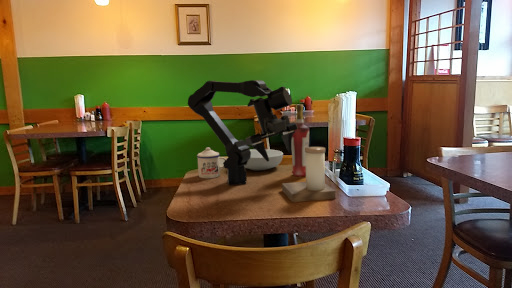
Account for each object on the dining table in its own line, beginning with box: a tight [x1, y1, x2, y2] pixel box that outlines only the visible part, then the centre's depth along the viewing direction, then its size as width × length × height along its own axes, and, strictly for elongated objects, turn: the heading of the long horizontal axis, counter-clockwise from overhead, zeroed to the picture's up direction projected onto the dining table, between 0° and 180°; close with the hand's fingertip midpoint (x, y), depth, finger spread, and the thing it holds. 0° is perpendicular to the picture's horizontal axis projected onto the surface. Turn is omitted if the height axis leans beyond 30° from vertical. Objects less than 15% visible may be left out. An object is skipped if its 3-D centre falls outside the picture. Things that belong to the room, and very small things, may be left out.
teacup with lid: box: [196, 147, 227, 179], centre depth 150 cm, size 12×9×12 cm
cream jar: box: [305, 146, 326, 191], centre depth 118 cm, size 6×6×13 cm
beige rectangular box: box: [281, 181, 336, 203], centre depth 121 cm, size 14×13×2 cm
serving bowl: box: [244, 148, 284, 171], centre depth 161 cm, size 21×21×7 cm
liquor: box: [291, 104, 310, 178], centre depth 144 cm, size 7×7×28 cm
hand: (279, 157), depth 128 cm, fingers open, 9 cm apart
